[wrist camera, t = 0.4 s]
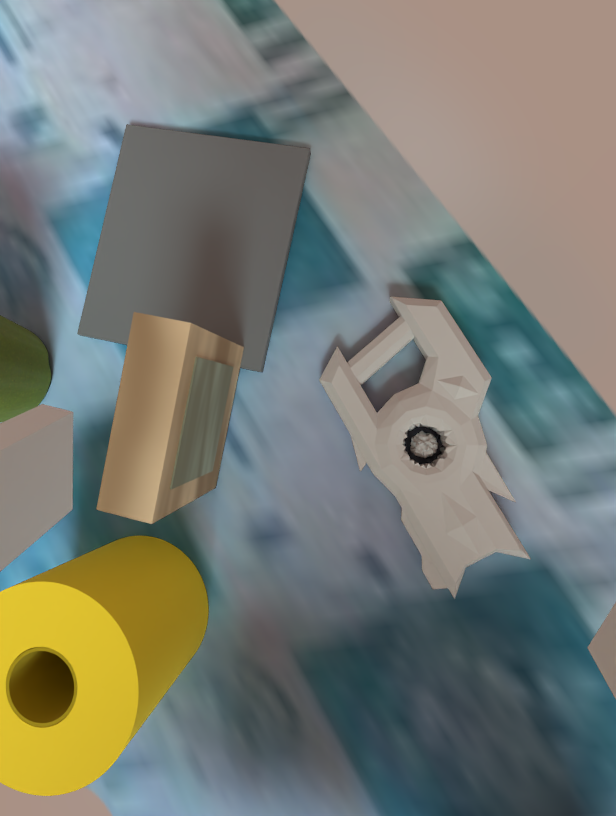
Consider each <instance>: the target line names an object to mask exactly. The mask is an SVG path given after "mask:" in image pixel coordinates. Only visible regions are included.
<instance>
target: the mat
mask: <svg viewBox="0 0 616 816" xmlns="http://www.w3.org/2000/svg"><path fill="white" fill-rule="evenodd" d="M310 155H311V153H310V148H302V147H295V146H287V145H280V144H272V143H264V142H257V141H249V140H241V139H234V138H226V137H219V136H211V135H203V134H196V133H188V132H180V131H173V130H165V129H158V128H150V127H142V126H135V125H126V129H125V133H124V137H123V142H122V146H121V150H120V154H119V159H118V163H117V167H116V171H115V176H114V180H113V184H112V188H111V193H110V197H109V201H108V206H107V210H106V214H105V218H104V223H103V227H102V231H101V235H100V240H99V244H98V248H97V252H96V257H95V261H94V265H93V269H92V274H91V278H90V282H89V286H88V291H87V295H86V299H85V303H84V308H83V312H82V316H81V320H80V325H79V329H78V333H77V334H79V335H82V336H86V337H91V338H96V339H101V340H105V341H110V342H115V343H120V344H125V345H128V340H129V334H130V329H131V324H132V319H133V313H134V312H137V313H142V314H148V315H153V316H158V317H163V318H168V319H173V320H179V321H184V322H189V323H192V324H194V325H197V326H199V327H201V328H203V329H205V330H208V331H210V332H212V333H214V334H216V335H218V336H221V337H223V338H225V339H227V340H229V341H231V342H234V343H236V344H238V345H240V346H242V347H244V350H243V355H242V360H241V365H240V368H243V369H248V370H253V371H257V372H262V373H263V368H264V364H265V359H266V355H267V350H268V346H269V341H270V337H271V332H272V328H273V323H274V318H275V314H276V309H277V305H278V300H279V296H280V291H281V287H282V282H283V278H284V273H285V269H286V264H287V259H288V255H289V250H290V246H291V241H292V237H293V232H294V228H295V223H296V219H297V214H298V210H299V205H300V200H301V196H302V191H303V187H304V182H305V178H306V173H307V169H308V164H309V160H310Z"/></svg>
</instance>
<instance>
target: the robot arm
mask: <svg viewBox="0 0 616 816" xmlns="http://www.w3.org/2000/svg"><path fill="white" fill-rule="evenodd" d="M71 510H73V412H71V411H67V410H63V409H60V408H56V407H52V406H48V405H44V404H42V405H39V406H37V407H35V408H33V409H31V410H28V411H26V412H24V413H22V414H20V415H18V416H15V417H13V418H11V419H9V420H7V421H4V422H2V423H0V571H1V570H3V569H4V568H5V567H6V566H7V565H8V564H10V563H11V562H12V561H13V560H14V559H15V558H17V557H18V556H19V555H20V554H21V553H22V552H24V551H25V550H26V549H27V548H28V547H29V546H31V545H32V544H33V543H34V542H35V541H36V540H38V539H39V538H40V537H41V536H42V535H43V534H45V533H46V532H47V531H48V530H49V529H50V528H52V527H53V526H54V525H55V524H56V523H57V522H59V521H60V520H61V519H62V518H63V517H64V516H66V515H67V514H68V513H69V512H70V511H71ZM588 650H589V652H590V653H591V655H592V657H593V659H594V661H595V662H596V664H597V666H598V668H599V670H600V671H601V673H602V675H603V677H604V679H605V681H606V682H607V684H608V686H609V688H610V690H611V691H612V693H613V695H614V697H615V699H616V603H615V604H614V606H613V608H612V609H611V611H610V612H609V614H608V616H607V617H606V619H605V620H604V622H603V624H602V625H601V627H600V628H599V630H598V632H597V633H596V635H595V636H594V638H593V640H592V641H591V643H590V644H589V646H588Z"/></svg>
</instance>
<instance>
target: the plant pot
mask: <svg viewBox="0 0 616 816" xmlns="http://www.w3.org/2000/svg"><path fill="white" fill-rule="evenodd" d="M50 380H51V371H50V367H49V360H48V351H47V349H46V347H45V346H44V344H43V343H42V341H41V340H40V339H39V338H38V337H37V336H36V335H35V334H34V333H32V332H31V331H29V330H27V329H25V328H24V327H22V326H20V325H18V324H16V323H14V322H12V321H10V320H8V319H6V318H4V317H3V316H1V315H0V422H4V421H7V420H9V419H11V418H13V417H15V416H18V415H20V414H22V413H24V412H26V411H28V410H31V409H33V408H35V407H37V406H38V405H39V404H40V402H41V401H42V400H43V398H44V397H45V395H46V393H47V390H48V388H49V385H50Z"/></svg>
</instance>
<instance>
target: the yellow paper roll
mask: <svg viewBox="0 0 616 816" xmlns="http://www.w3.org/2000/svg"><path fill="white" fill-rule="evenodd" d="M208 613H209V607H208V597H207V592H206V588H205V585H204V582H203V580H202V577H201V575H200V573H199V572H198V570H197V568H196V567H195V565H194V564H193V562H192V561H191V560H190V559H189V558H188V557H187V556H186V555H185V554H184V553H183V552H182V551H181V550H180V549H178V548H177V547H175V546H174V545H172V544H170V543H169V542H166V541H164V540H162V539H159V538H155V537H151V536H129V537H124V538H121V539H118V540H116V541H113V542H111V543H109V544H107V545H104V546H102V547H100V548H98V549H95V550H93V551H91V552H89V553H86V554H84V555H82V556H80V557H77V558H75V559H73V560H71V561H68V562H66V563H64V564H62V565H59V566H57V567H55V568H53V569H50V570H48V571H46V572H44V573H41V574H39V575H37V576H35V577H32V578H30V579H28V580H26V581H23V582H21V583H19V584H17V585H14V586H12V587H10V588H8V589H5V590H3V591H1V592H0V782H1V783H2V784H4V785H6V786H8V787H10V788H12V789H15V790H18V791H20V792H24V793H27V794H33V795H41V796H52V795H61V794H66V793H70V792H72V791H76V790H78V789H81V788H83V787H85V786H87V785H88V784H90V783H92V782H93V781H95V780H96V779H98V778H99V777H100V776H101V775H103V774H104V773H105V772H106V771H107V770H108V769H109V768H110V767H111V766H112V765H113V763H114V762H115V761H116V760H117V758H118V757H119V756H120V754H121V753H122V752H123V750H124V749H125V748H126V746H127V745H128V743H129V742H130V741H131V739H132V738H133V737H134V735H135V734H136V733H137V731H138V730H139V729H140V727H141V726H142V725H143V723H144V722H145V721H146V719H147V718H148V716H149V715H150V714H151V712H152V711H153V710H154V708H155V707H156V706H157V704H158V703H159V702H160V700H161V699H162V698H163V696H164V695H165V693H166V692H167V691H168V689H169V688H170V687H171V685H172V684H173V683H174V681H175V680H176V679H177V677H178V676H179V675H180V673H181V672H182V671H183V669H184V668H185V666H186V665H187V664H188V662H189V661H190V660H191V658H192V657H193V656H194V654H195V653H196V651H197V650H198V648H199V646H200V644H201V642H202V640H203V638H204V635H205V632H206V628H207V623H208Z"/></svg>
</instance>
